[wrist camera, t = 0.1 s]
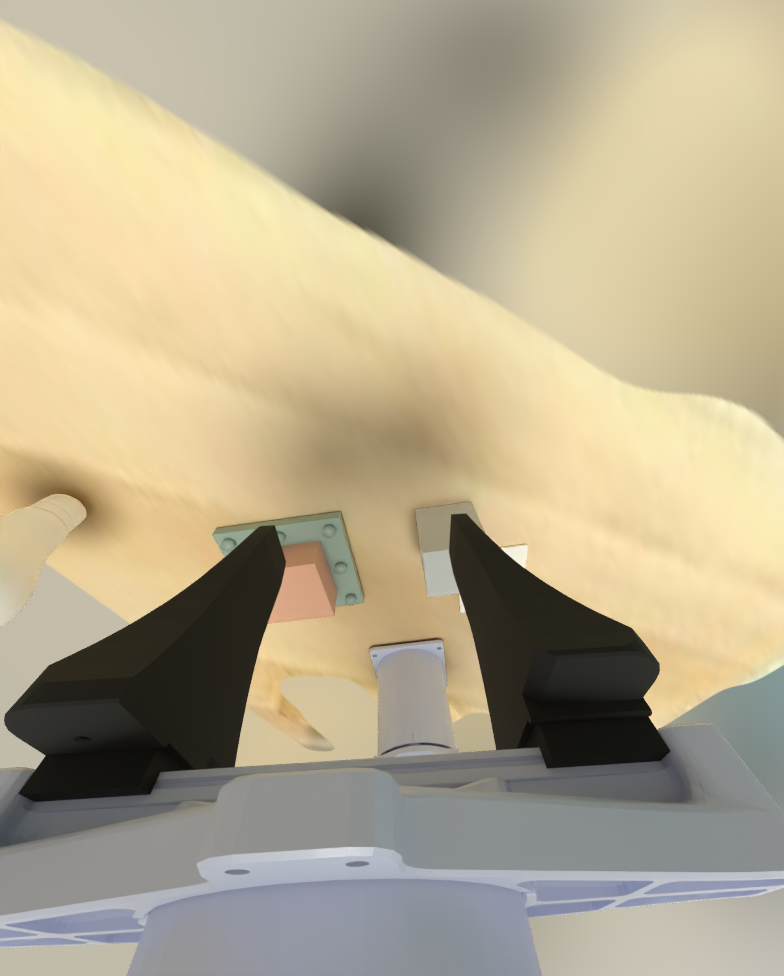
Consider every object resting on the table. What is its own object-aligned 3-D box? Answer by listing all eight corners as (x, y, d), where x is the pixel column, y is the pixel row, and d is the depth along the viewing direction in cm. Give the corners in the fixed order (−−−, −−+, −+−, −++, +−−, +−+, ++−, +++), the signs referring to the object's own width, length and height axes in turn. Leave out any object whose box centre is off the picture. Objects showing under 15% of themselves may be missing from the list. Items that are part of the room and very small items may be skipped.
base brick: (337, 591, 28) (334, 615, 26) (272, 599, 28) (263, 624, 26) (320, 540, 25) (314, 563, 23) (247, 550, 25) (234, 574, 23)
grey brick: (471, 543, 27) (488, 589, 22) (420, 549, 27) (427, 597, 22) (470, 501, 24) (490, 544, 20) (414, 508, 24) (422, 553, 20)
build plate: (364, 595, 29) (363, 607, 28) (261, 608, 30) (257, 620, 29) (340, 511, 24) (338, 521, 23) (216, 528, 25) (208, 539, 24)
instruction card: (520, 603, 31) (520, 605, 31) (459, 611, 31) (460, 613, 31) (527, 543, 27) (528, 545, 27) (457, 552, 27) (458, 554, 27)
